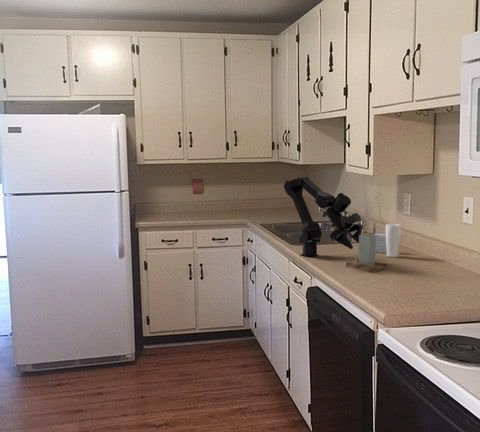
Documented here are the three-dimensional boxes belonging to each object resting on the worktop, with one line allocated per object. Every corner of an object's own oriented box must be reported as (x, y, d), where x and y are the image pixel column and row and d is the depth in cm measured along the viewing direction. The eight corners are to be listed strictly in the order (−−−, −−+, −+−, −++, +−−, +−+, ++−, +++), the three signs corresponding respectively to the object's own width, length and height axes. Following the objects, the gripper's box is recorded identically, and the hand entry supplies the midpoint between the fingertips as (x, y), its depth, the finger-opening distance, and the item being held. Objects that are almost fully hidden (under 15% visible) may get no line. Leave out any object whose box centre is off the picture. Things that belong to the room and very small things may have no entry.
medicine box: (390, 252, 265) (391, 234, 264) (388, 253, 261) (389, 235, 260) (374, 250, 269) (374, 233, 267) (372, 252, 265) (372, 234, 263)
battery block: (358, 265, 232) (359, 233, 230) (364, 263, 235) (365, 232, 234) (368, 267, 228) (369, 234, 227) (374, 265, 232) (375, 233, 230)
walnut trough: (346, 266, 233) (346, 262, 233) (358, 263, 240) (358, 258, 240) (375, 272, 224) (375, 267, 223) (387, 267, 231) (387, 263, 230)
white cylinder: (388, 254, 259) (389, 223, 257) (402, 256, 255) (403, 224, 253) (382, 256, 254) (383, 224, 252) (396, 258, 250) (397, 226, 248)
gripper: (336, 209, 229) (358, 238, 223) (360, 205, 242) (381, 232, 236) (320, 225, 235) (341, 254, 229) (344, 220, 248) (364, 248, 243)
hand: (358, 246), depth 234 cm, fingers open, 9 cm apart
